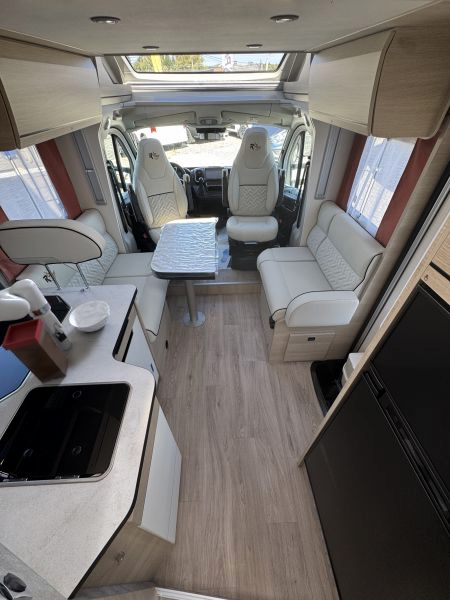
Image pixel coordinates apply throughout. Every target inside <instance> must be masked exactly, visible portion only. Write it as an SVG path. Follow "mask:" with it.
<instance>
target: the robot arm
mask: <svg viewBox="0 0 450 600" xmlns="http://www.w3.org/2000/svg"><path fill="white" fill-rule="evenodd" d="M27 315H29V317H31V318H32V320H35V319H39V318H40V319H41V320H42V321H43V327H44V328H45V329H46V331H47V332H48V333H50V334H54V333H55V334H56V337H57V338H58V340H59V341H60V342H63V341H64V340H65V339H66V338H68V336H67V335H66V333H65V331H64V330H63V329H62V328H63V325H62V324H61V322H60V321H59V319H58V318H57V316H56V315H55V314H54V313H53V312H52V310H51V305H50V303H49V302H48V300H47V299H46V298H45V296H44V294H43V293H42V291H41V290H40V288H39V287H38V286H37V284H36V283H35V281H33V280H32V279H25V278H24V279H21V280H18V281H16V282H15V283H13V284H12V285H11V286H8V287H6V288H4V289H1V290H0V322H4V321H5V322H6V321H7V322H8V321H16V320H20V319H23V318H25V317H26V316H27ZM56 331H58V333H56Z"/></svg>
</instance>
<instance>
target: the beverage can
mask: <svg viewBox="0 0 450 600" xmlns="http://www.w3.org/2000/svg"><path fill="white" fill-rule="evenodd" d="M56 333H58V331H56ZM49 335H50V336H51V337H52V339H53V340H54V341H55V343H56V344H57V345H58V347H59V348H60V349H61V351H67V350H69V349H70V348H71V347H72V342H71V340H70V338H68V337H67V338H66V339H65V340H64V341H63V342H60V341H59V340H58V338H57V337H56V334H55V333H54V334H50V333H49Z"/></svg>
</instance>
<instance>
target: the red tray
mask: <svg viewBox="0 0 450 600" xmlns="http://www.w3.org/2000/svg"><path fill="white" fill-rule="evenodd" d="M42 327H43V321H42V320H41V319H40V318H39V319H35V320H34V319H31V320H27V321H22V322H18V323H14V324H9V325H8V327H7V331H6V333H5V336H4V339H3V341H2V344H1V348H3V349H4V350H5V352H7V351H10V350H11V349H15V348H19V347H23V346H26V345H30V344H34V343H38V342H39V340H40V335H41V331H42Z"/></svg>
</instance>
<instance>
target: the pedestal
mask: <svg viewBox="0 0 450 600" xmlns="http://www.w3.org/2000/svg"><path fill="white" fill-rule="evenodd" d="M9 351H10V353H12V354H13V355H14V356H15V358H16V359H18V360H19V361H20V362H21V364H23V365H24V366H25V367H26V368H27V369H28V370H29V372H30V373H32V374H33V375H34V377H35V378H36V379H38V380H39V382H40V383H41V384H45V383H48V382H51V381H56V380H59V379H61V378H65V377H67V372H68V364H69V358H68V357H67V355H66V354H65V353H64V352H63V350H61V349H60V348H59V346H58V345H57V344H56V342H55V341H54V340H53V339H52V337H51V336H50V335H49V333H48V332H47V331H46V329H45V328H44V327H42V331H41V335H40V340H39V342H38V343H34V344H30V345H26V346H23V347H19V348H15V349H11V350H9Z"/></svg>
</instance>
